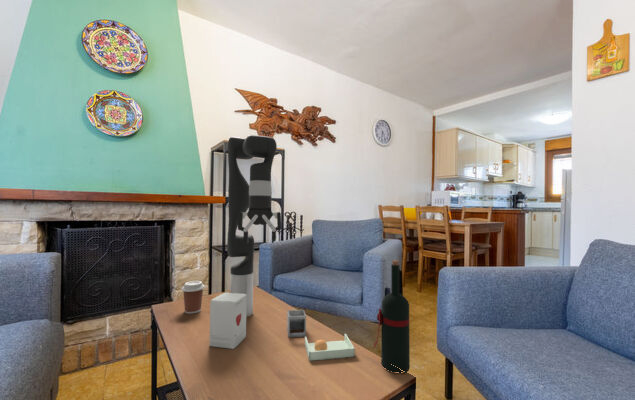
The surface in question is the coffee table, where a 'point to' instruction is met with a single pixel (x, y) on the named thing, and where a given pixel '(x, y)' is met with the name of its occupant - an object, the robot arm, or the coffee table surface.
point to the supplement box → (227, 320)
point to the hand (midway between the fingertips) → (259, 242)
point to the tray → (331, 350)
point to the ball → (320, 345)
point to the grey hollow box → (296, 322)
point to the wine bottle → (394, 327)
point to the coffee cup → (193, 296)
